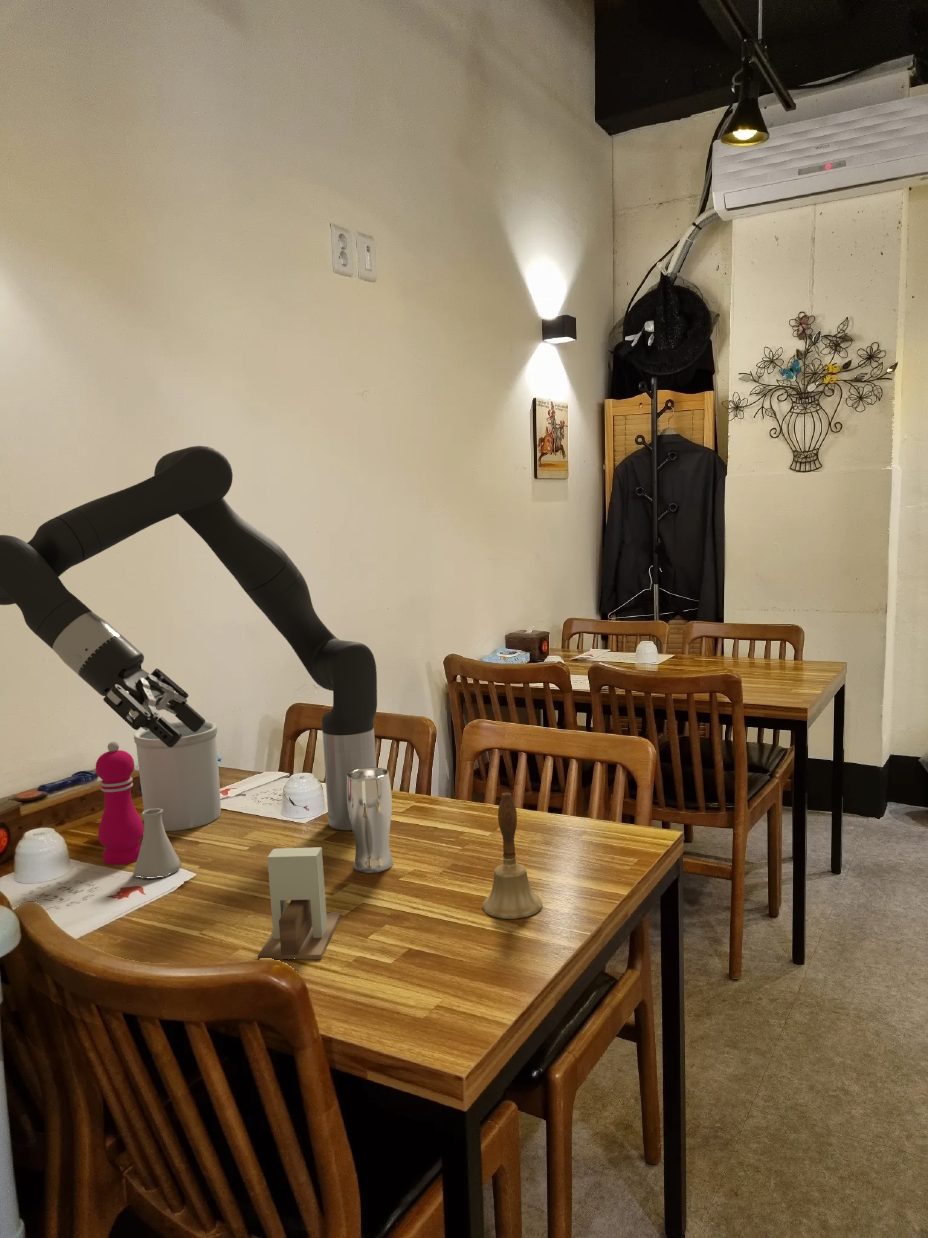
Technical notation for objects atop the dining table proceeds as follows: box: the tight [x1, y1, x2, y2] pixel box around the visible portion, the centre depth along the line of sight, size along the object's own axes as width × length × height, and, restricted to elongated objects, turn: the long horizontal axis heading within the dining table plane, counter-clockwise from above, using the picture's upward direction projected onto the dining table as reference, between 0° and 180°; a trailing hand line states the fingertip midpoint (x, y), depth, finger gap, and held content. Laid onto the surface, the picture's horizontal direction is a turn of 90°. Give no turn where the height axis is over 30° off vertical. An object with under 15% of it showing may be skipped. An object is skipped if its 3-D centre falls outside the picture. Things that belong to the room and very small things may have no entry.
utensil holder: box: [133, 720, 222, 832], centre depth 168 cm, size 15×15×18 cm
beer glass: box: [347, 767, 394, 874], centre depth 140 cm, size 7×7×15 cm
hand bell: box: [481, 792, 543, 920], centre depth 123 cm, size 8×8×16 cm
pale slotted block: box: [267, 846, 327, 939], centre depth 116 cm, size 6×3×11 cm, turn 87°
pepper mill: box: [95, 741, 144, 866], centre depth 149 cm, size 7×7×20 cm
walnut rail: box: [257, 900, 342, 961], centre depth 117 cm, size 12×8×5 cm, turn 176°
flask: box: [132, 808, 182, 879], centre depth 143 cm, size 7×7×10 cm
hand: (189, 734), depth 120 cm, fingers open, 8 cm apart
